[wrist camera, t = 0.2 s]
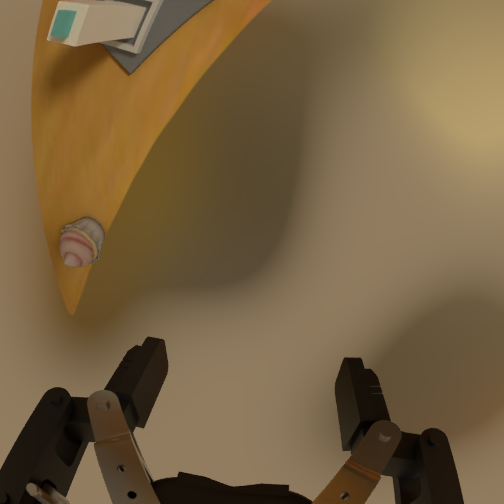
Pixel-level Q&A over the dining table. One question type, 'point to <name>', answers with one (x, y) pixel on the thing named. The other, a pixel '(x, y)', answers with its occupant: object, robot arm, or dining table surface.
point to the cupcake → (81, 242)
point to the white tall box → (94, 21)
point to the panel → (152, 29)
